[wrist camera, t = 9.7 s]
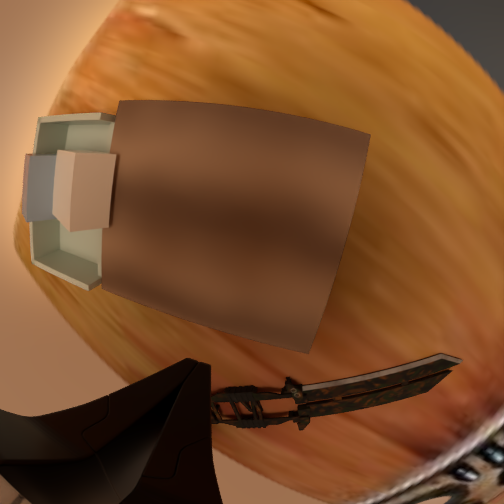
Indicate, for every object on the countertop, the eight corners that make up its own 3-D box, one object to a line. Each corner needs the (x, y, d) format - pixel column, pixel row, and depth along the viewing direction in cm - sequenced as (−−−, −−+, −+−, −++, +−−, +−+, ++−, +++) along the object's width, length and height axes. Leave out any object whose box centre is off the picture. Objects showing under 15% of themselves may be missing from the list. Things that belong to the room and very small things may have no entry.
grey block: (26, 222, 16) (22, 213, 17) (80, 216, 20) (70, 208, 21) (30, 155, 14) (25, 153, 16) (86, 156, 18) (76, 153, 20)
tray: (117, 274, 23) (88, 291, 19) (59, 251, 24) (31, 263, 20) (133, 119, 19) (101, 112, 15) (69, 120, 20) (38, 117, 16)
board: (309, 331, 20) (308, 353, 18) (122, 276, 22) (101, 288, 20) (360, 140, 16) (370, 134, 13) (142, 107, 18) (119, 100, 15)
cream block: (108, 227, 18) (69, 232, 15) (84, 210, 20) (52, 213, 18) (116, 154, 16) (75, 152, 14) (90, 150, 19) (57, 149, 16)
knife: (462, 343, 19) (468, 351, 17) (449, 394, 20) (454, 403, 19) (191, 374, 25) (186, 383, 23) (210, 419, 26) (206, 428, 25)
